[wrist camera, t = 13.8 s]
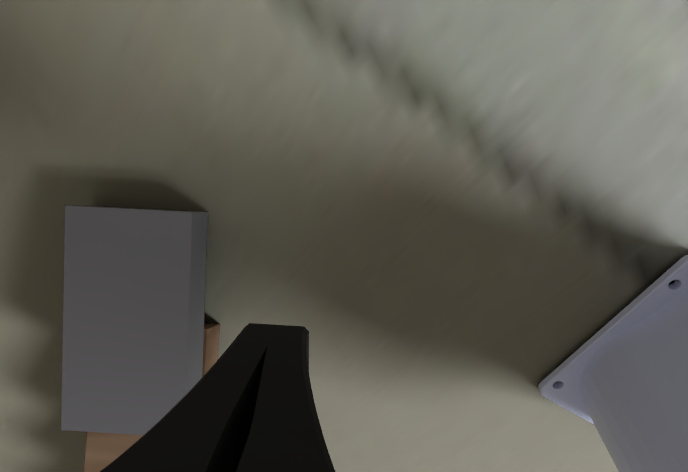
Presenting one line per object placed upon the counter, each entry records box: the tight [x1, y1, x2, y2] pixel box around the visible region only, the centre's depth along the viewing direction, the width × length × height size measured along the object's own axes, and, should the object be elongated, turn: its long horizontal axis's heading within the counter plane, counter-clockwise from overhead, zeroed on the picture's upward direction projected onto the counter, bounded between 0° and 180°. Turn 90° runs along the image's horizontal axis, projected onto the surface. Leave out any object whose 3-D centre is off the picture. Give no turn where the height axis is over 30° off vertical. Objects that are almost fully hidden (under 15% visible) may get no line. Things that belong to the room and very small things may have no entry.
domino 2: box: [84, 323, 220, 472], centre depth 22 cm, size 2×5×9 cm
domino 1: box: [61, 206, 208, 435], centre depth 20 cm, size 2×5×9 cm
